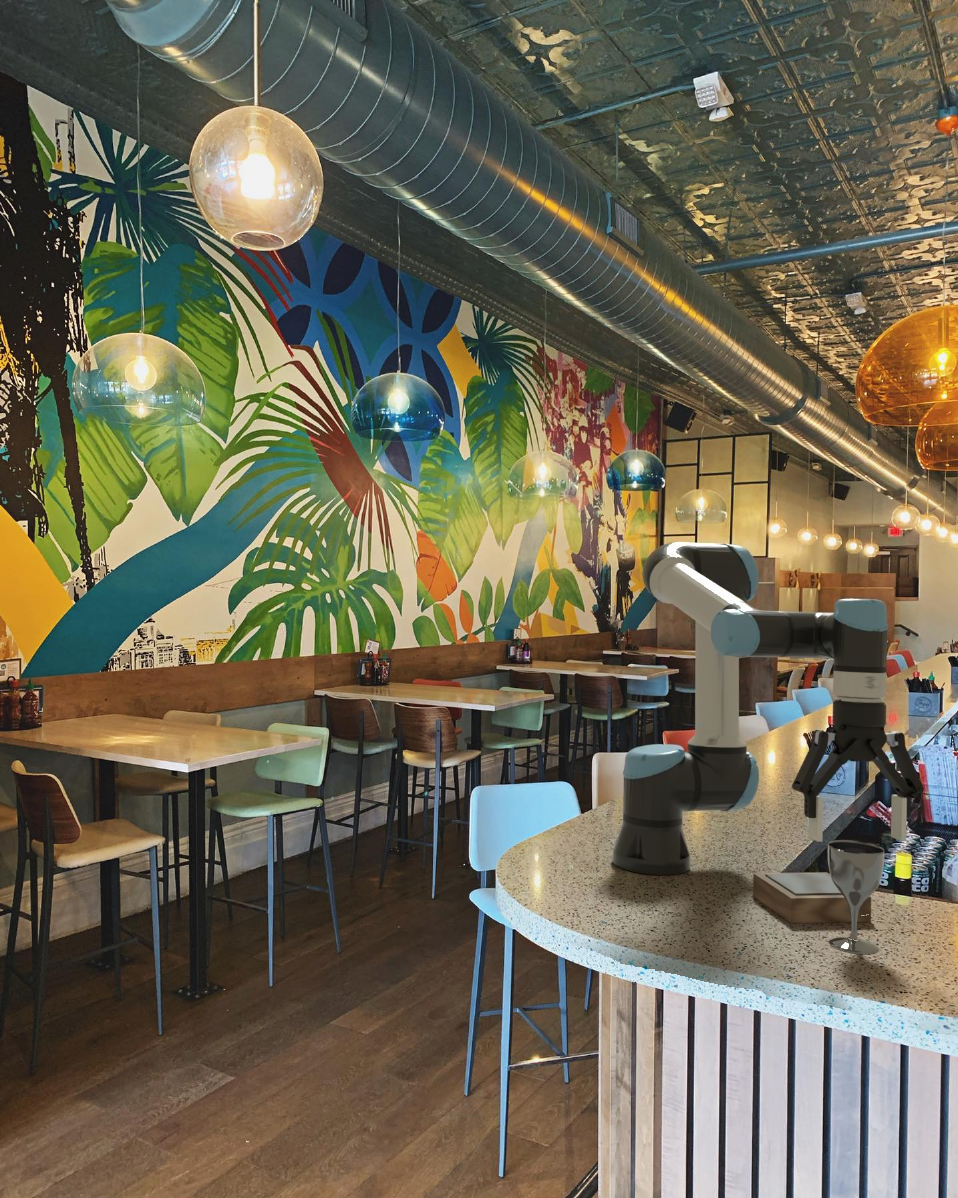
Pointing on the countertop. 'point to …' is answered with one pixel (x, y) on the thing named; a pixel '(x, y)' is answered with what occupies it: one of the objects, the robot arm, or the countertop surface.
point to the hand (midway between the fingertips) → (857, 839)
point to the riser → (805, 897)
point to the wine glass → (855, 884)
